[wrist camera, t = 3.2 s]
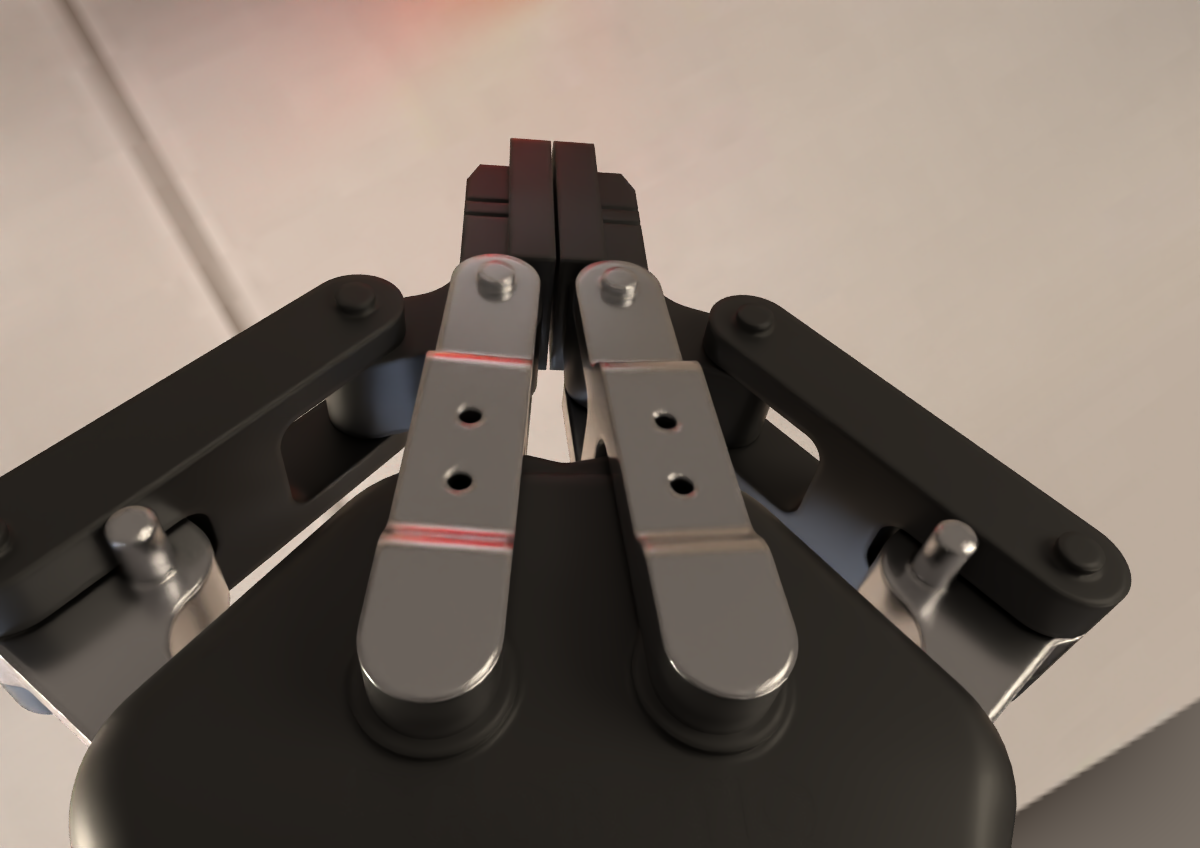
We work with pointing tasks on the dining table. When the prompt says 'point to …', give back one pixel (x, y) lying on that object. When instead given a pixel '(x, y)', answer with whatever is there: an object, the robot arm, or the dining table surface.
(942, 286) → the dining table surface
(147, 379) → the dining table surface
